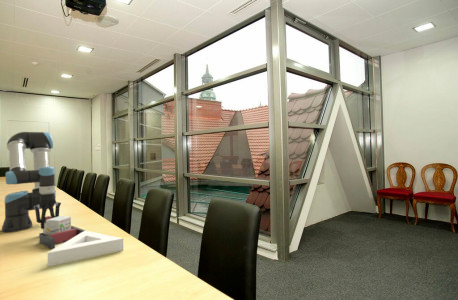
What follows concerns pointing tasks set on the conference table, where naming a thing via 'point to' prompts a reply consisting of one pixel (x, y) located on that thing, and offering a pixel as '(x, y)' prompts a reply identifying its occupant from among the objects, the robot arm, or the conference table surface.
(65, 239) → the pull frame
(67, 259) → the triangle block
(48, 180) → the robot arm
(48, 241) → the lane rails
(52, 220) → the ink box
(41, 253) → the conference table surface
